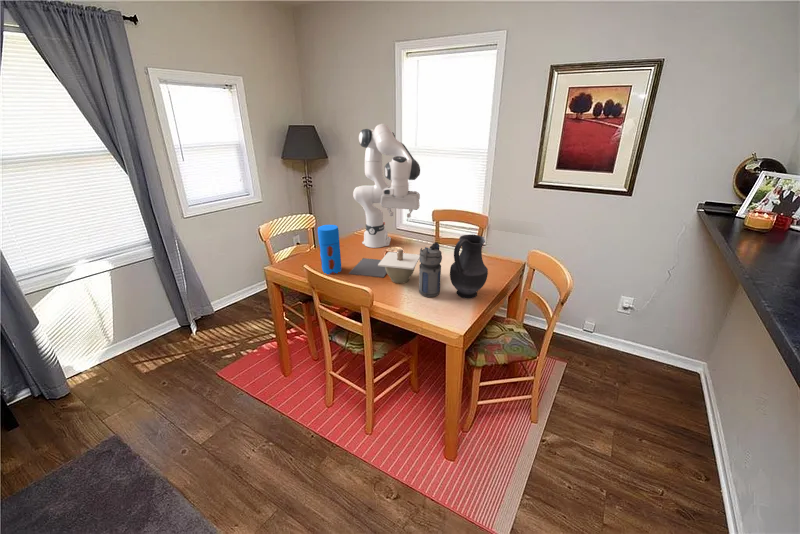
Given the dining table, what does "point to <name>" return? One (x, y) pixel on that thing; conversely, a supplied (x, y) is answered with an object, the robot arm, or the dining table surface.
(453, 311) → the dining table surface
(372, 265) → the mat
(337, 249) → the blue slotted cylinder
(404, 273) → the planter bowl
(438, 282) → the beverage bottle
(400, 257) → the lid
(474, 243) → the pitcher
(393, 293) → the dining table surface
